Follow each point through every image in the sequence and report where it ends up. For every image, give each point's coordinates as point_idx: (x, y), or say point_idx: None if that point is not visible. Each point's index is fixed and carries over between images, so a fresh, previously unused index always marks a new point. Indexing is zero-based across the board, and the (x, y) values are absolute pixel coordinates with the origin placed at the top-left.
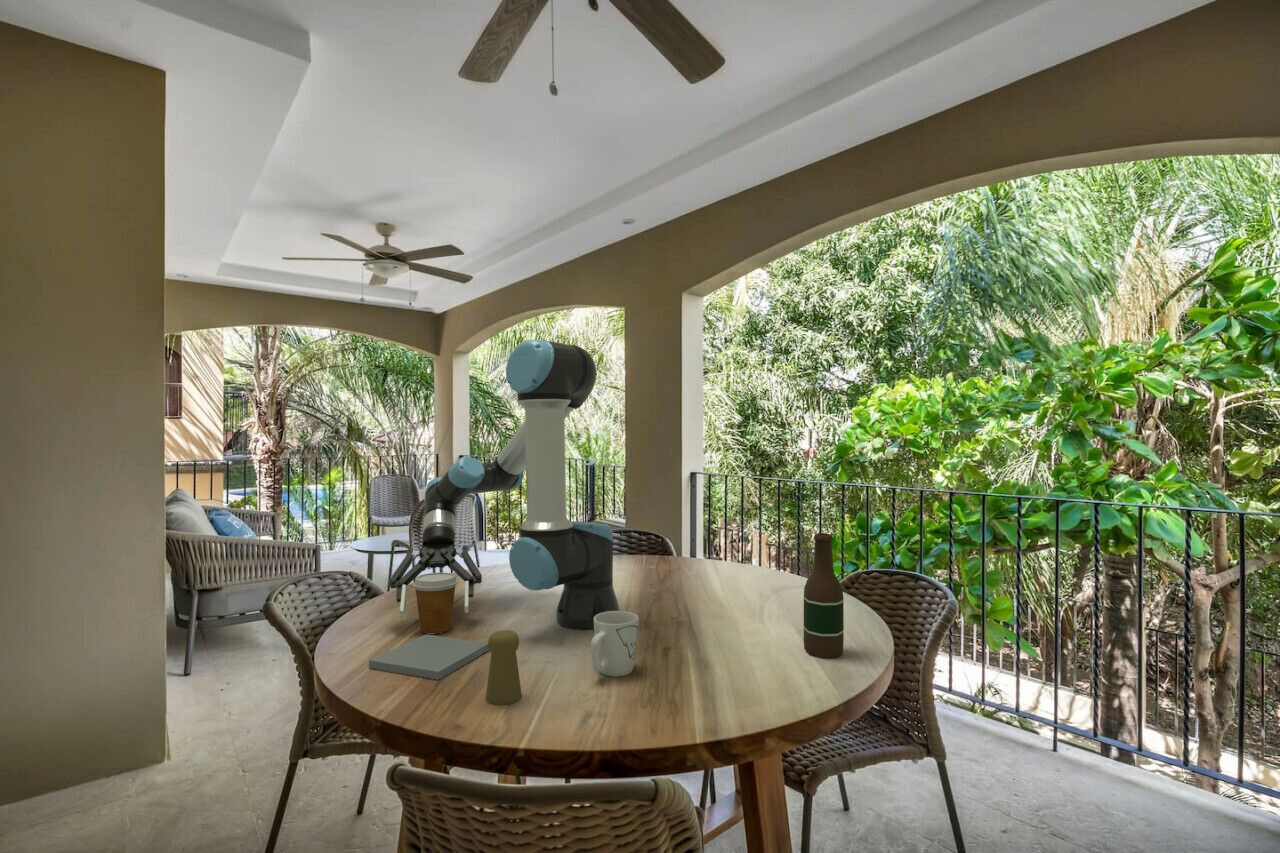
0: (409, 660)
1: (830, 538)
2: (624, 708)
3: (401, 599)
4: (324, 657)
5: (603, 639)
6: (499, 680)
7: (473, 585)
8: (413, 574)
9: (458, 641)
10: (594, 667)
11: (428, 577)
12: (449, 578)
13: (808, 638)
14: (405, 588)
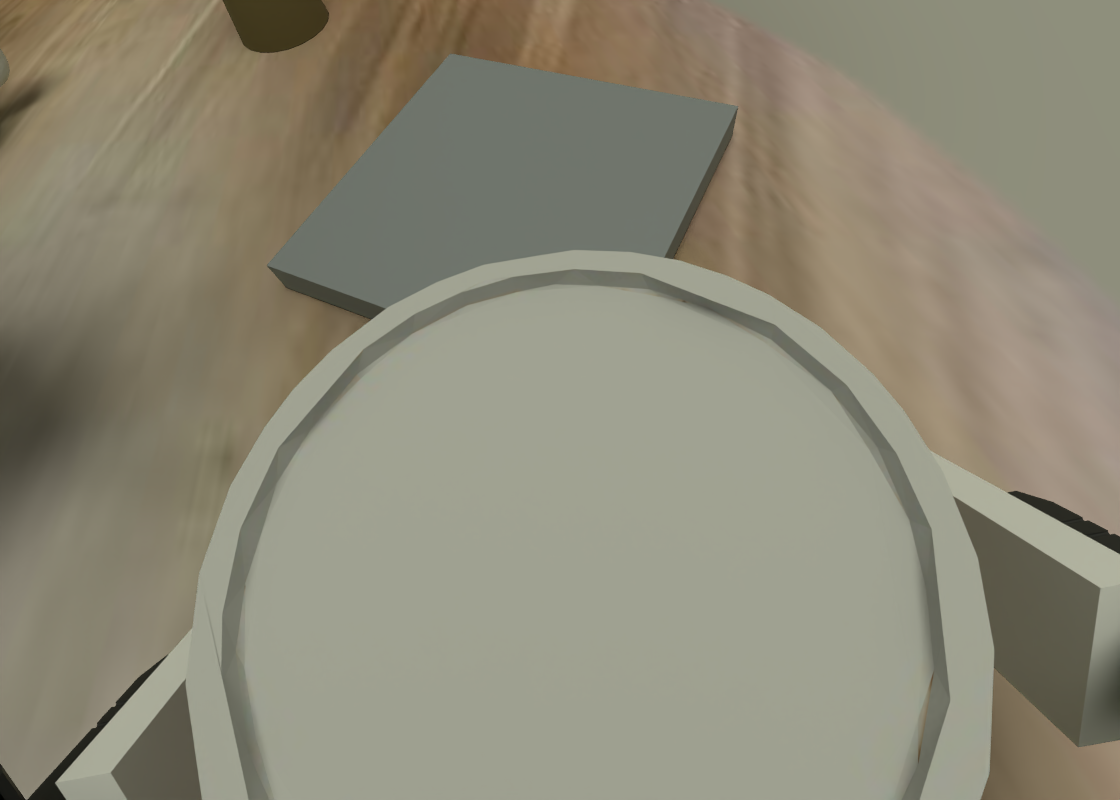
0: (573, 112)
1: None
2: (55, 12)
3: (936, 458)
4: (1022, 217)
5: None
6: None
7: (57, 769)
8: None
9: (405, 285)
10: (4, 56)
11: (732, 635)
12: (305, 411)
13: None
14: (1029, 542)
